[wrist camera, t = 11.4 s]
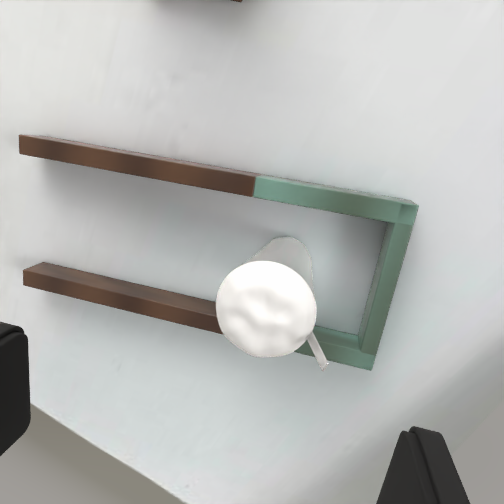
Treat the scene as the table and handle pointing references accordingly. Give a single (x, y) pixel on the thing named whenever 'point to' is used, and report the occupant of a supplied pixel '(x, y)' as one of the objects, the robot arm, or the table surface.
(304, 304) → the milkshake
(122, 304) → the slide track
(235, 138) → the table surface
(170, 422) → the table surface
